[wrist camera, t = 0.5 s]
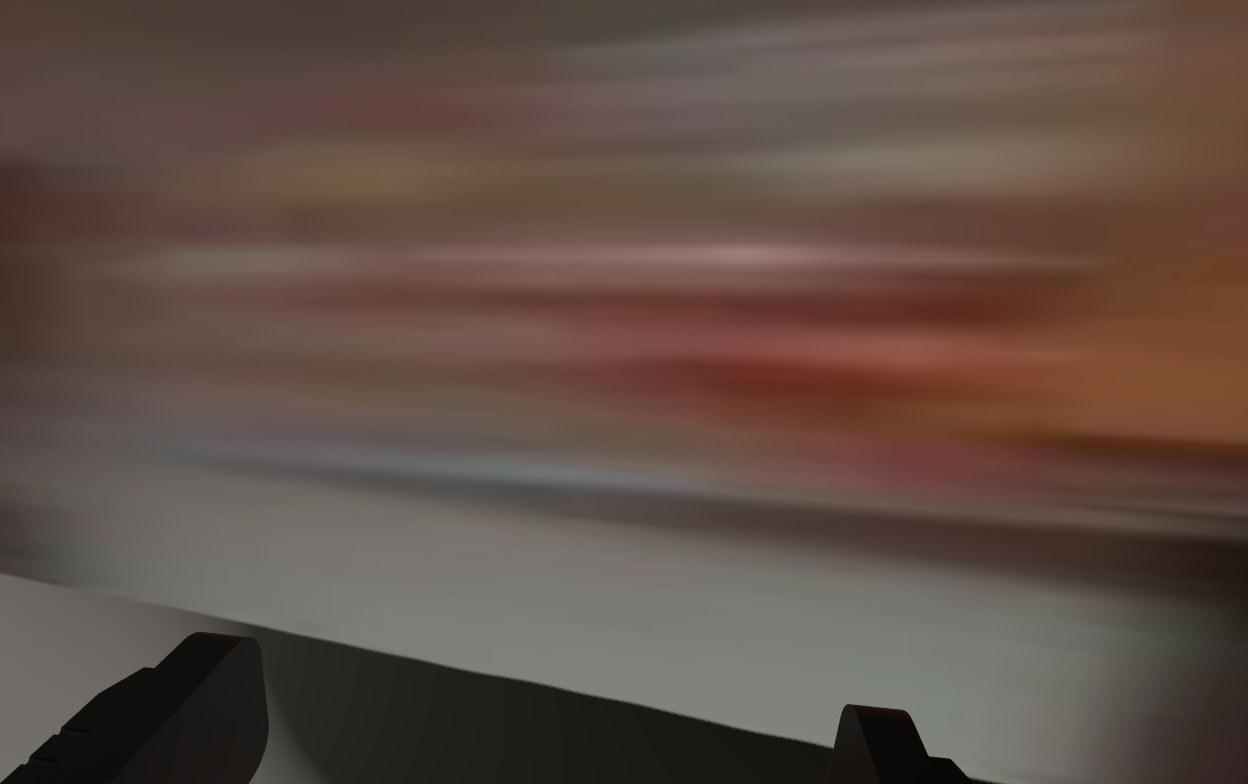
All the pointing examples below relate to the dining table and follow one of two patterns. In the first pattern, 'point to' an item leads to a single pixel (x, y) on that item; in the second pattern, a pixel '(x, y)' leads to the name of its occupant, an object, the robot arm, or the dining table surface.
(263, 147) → the dining table surface
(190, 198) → the dining table surface
